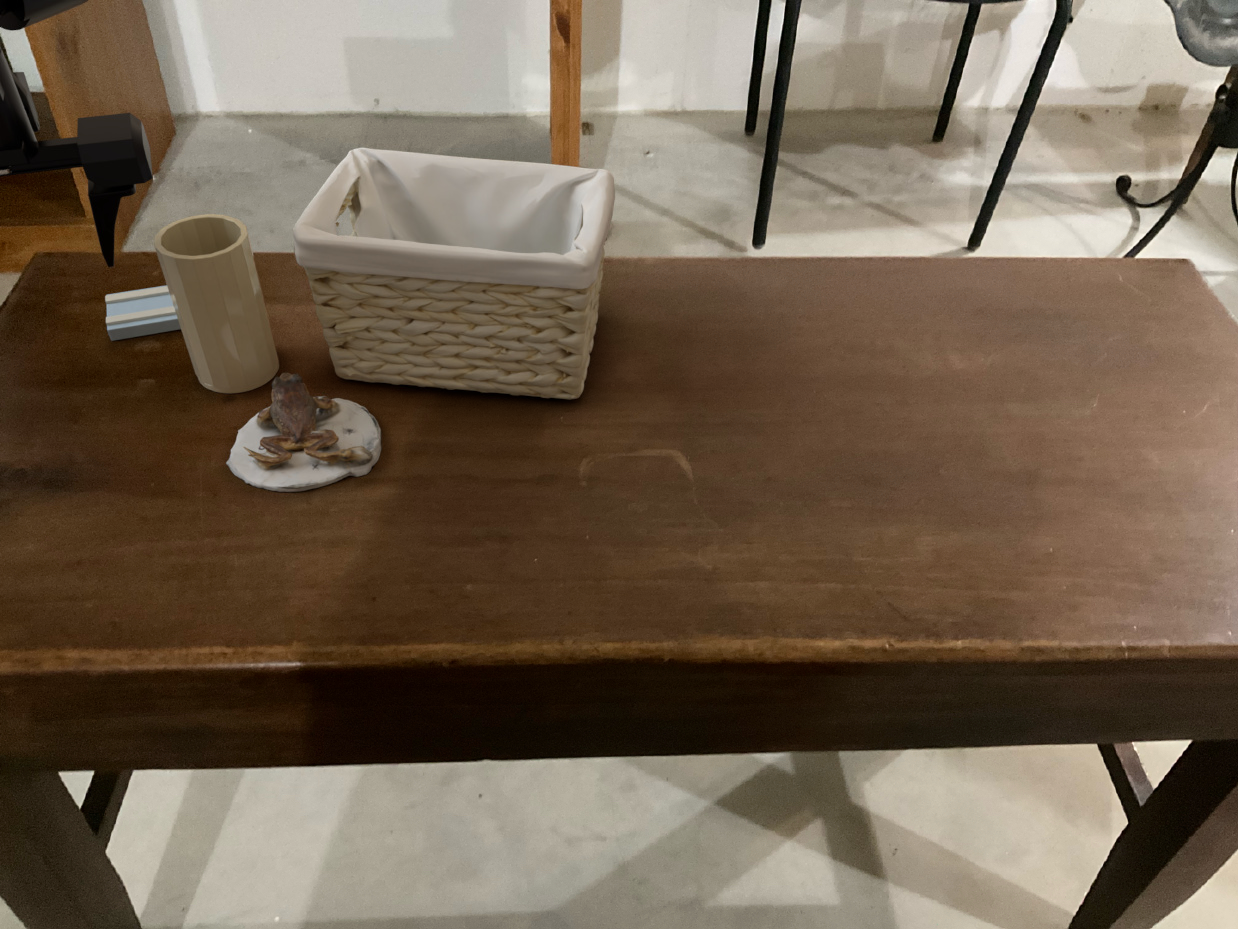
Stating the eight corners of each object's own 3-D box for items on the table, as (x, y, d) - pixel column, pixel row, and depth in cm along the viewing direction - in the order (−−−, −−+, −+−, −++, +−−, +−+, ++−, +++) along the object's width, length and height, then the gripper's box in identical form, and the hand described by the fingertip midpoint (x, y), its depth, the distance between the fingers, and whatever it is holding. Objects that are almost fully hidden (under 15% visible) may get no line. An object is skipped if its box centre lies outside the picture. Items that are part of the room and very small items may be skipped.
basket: (314, 386, 82) (280, 232, 72) (370, 284, 94) (348, 139, 84) (591, 415, 81) (596, 263, 71) (612, 309, 93) (620, 165, 82)
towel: (111, 341, 85) (105, 327, 84) (110, 305, 89) (105, 291, 88) (229, 321, 88) (225, 307, 87) (222, 287, 92) (219, 273, 91)
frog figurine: (214, 418, 78) (202, 381, 76) (359, 383, 82) (353, 347, 80) (238, 510, 71) (226, 473, 68) (397, 467, 75) (391, 430, 72)
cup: (241, 402, 80) (202, 267, 71) (179, 377, 82) (134, 243, 73) (296, 360, 84) (265, 228, 75) (236, 337, 86) (200, 206, 77)
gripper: (112, 0, 67) (173, 204, 77) (-205, 22, 61) (-92, 239, 72) (115, 58, 59) (182, 275, 70) (-245, 89, 54) (-113, 320, 64)
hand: (42, 274), depth 69 cm, fingers open, 9 cm apart
